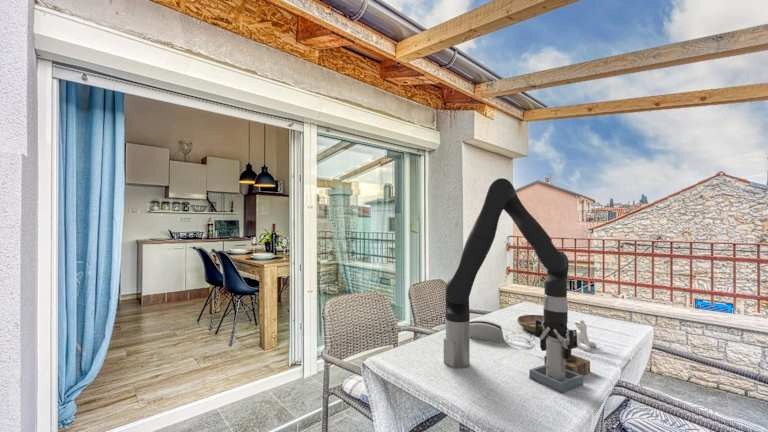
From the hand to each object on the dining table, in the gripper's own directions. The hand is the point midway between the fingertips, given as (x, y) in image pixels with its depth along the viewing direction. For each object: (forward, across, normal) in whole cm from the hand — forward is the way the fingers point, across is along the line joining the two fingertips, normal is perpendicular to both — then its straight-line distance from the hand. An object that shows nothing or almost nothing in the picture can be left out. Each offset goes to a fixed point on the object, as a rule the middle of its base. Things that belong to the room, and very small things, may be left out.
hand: (555, 354), depth 116 cm
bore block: (+9, -4, +13) cm, 17 cm away
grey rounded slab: (+10, -43, +10) cm, 45 cm away
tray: (+9, 0, 0) cm, 9 cm away
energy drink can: (+9, 0, 0) cm, 9 cm away
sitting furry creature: (+9, -14, +41) cm, 45 cm away
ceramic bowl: (+10, -38, +46) cm, 61 cm away
